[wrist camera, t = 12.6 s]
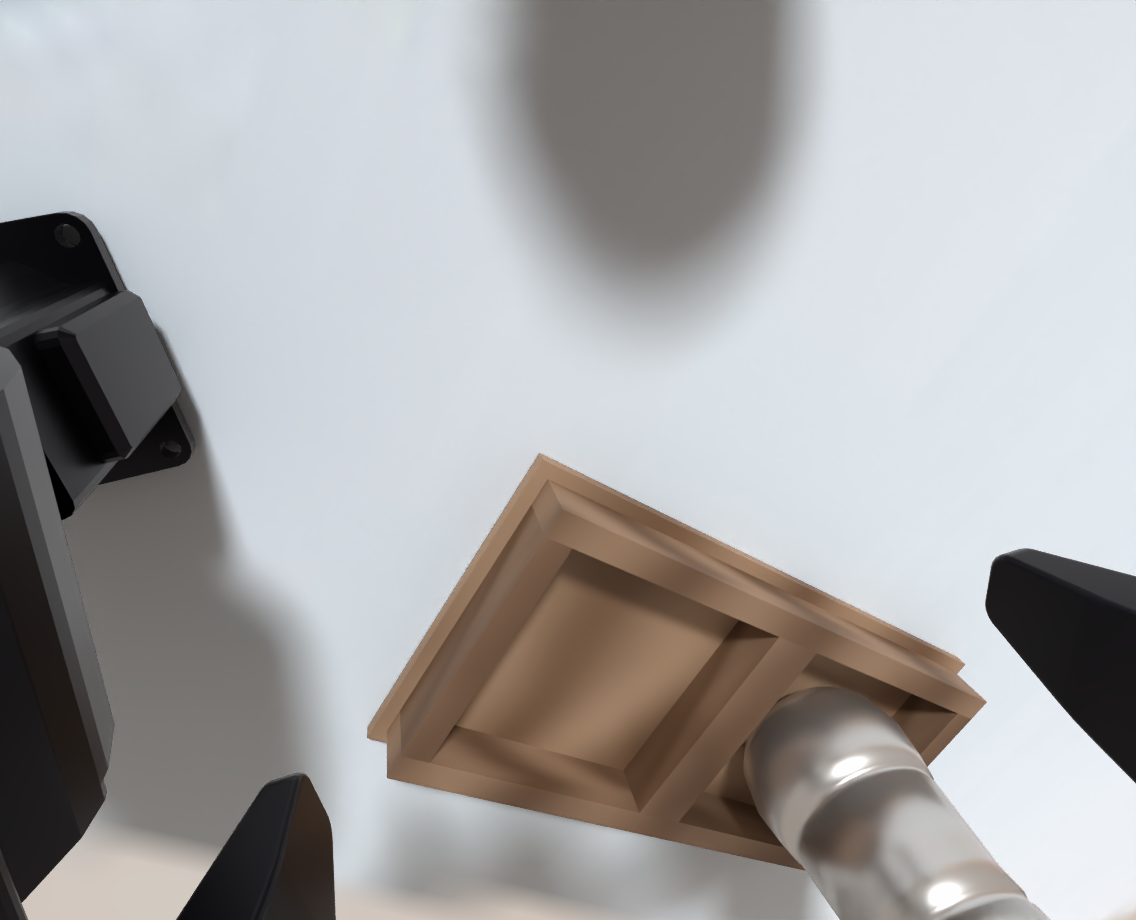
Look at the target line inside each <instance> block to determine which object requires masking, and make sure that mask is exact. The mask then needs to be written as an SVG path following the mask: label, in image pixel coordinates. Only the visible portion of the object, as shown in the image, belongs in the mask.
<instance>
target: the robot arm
mask: <svg viewBox="0 0 1136 920" xmlns="http://www.w3.org/2000/svg"><path fill="white" fill-rule="evenodd" d="M65 224H68V225H70V226H72V227H74V228H76V230H77V231H78V232H79V234H80V238H81V240H80V242H79V245H73V244H71V243H69V242H67V241H66V240H65V238H64V237H63V235H62V228H63V226H64V225H65ZM181 390H182V389H181V385H180V383H179V381H178V379H177V376H176V374H175V372H174V370H173V368H172V365H171V363H170V361H169V359H168V357H167V354H166V352H165V350H164V348H163V346H162V343H161V341H160V339H159V337H158V335H157V332H156V330H155V328H154V326H153V323H152V321H151V319H150V317H149V315H148V312H147V310H146V308H145V306H144V304H143V301H142V299H141V298H140V297H139V296H137V295H136V294H134V293H132V292H130V291H128V290H125V288H124V286H123V284H122V282H121V280H120V278H119V275H118V273H117V271H116V269H115V267H114V265H113V262H112V260H111V258H110V256H109V254H108V252H107V249H106V247H105V245H104V243H103V241H102V239H101V236H100V234H99V232H98V230H97V228H96V227H95V226H94V224H93V223H92V221H90V220H89V219H88V218H86V217H85V216H84V215H82V214H79V213H76V212H67V211H64V212H58V213H52V214H47V215H41V216H36V217H30V218H25V219H19V220H13V221H8V222H2V223H0V920H28V918H27V916H26V913H25V911H24V908H23V906H22V902H23V901H24V900H25V899H26V898H27V897H28V895H29V894H30V893H31V892H32V891H33V890H34V889H35V888H36V887H37V886H38V885H39V884H40V882H41V881H42V880H43V879H44V878H45V877H46V876H47V875H48V874H49V873H50V872H51V871H52V869H53V868H54V867H55V866H56V865H57V864H58V863H59V862H60V861H61V860H62V859H63V857H64V856H65V855H66V854H67V853H68V852H69V851H70V850H71V849H72V848H73V847H74V845H75V844H76V843H77V842H78V841H79V840H80V839H81V838H82V836H83V835H84V833H85V831H86V830H87V828H88V827H89V825H90V823H91V822H92V820H93V818H94V817H95V815H96V814H97V812H98V810H99V809H100V807H101V805H102V804H103V802H104V801H105V797H106V792H107V791H106V787H105V784H104V780H103V779H104V777H105V774H106V772H107V770H108V766H109V759H110V752H111V745H112V739H113V732H114V721H113V717H112V713H111V709H110V706H109V702H108V698H107V694H106V690H105V686H104V683H103V679H102V675H101V671H100V667H99V663H98V660H97V656H96V652H95V648H94V644H93V640H92V637H91V633H90V629H89V625H88V621H87V617H86V614H85V610H84V606H83V602H82V598H81V594H80V591H79V587H78V583H77V579H76V575H75V571H74V567H73V564H72V560H71V556H70V552H69V548H68V544H67V541H66V537H65V533H64V529H63V525H62V521H61V520H63V519H66V518H68V517H70V516H71V515H72V514H73V513H74V512H75V511H76V510H77V509H78V507H79V506H80V505H81V504H82V503H83V502H84V500H85V499H86V498H87V497H88V496H89V494H90V493H91V492H92V491H93V490H94V489H95V487H96V486H97V485H100V484H104V483H108V482H113V481H117V480H121V479H125V478H129V477H134V476H138V475H142V474H146V473H150V472H155V471H159V470H163V469H167V468H171V467H176V466H179V465H182V464H184V463H186V462H187V460H188V459H189V458H190V457H191V455H192V454H193V452H194V449H195V441H194V438H193V436H192V434H191V431H190V429H189V427H188V425H187V423H186V421H185V418H184V416H183V414H182V412H181V410H180V408H179V405H178V403H177V401H176V399H177V397H178V396H179V394H180V392H181ZM165 441H174V442H176V443H178V444H179V445H180V447H181V451H180V452H172V451H170V450H168V449H167V448H166V447H165V445H164V442H165ZM985 606H986V611H987V614H988V616H989V618H990V620H991V621H992V623H993V624H994V625H995V627H996V628H997V629H998V630H999V631H1000V633H1001V634H1002V635H1003V636H1004V637H1005V639H1006V640H1007V641H1008V642H1009V643H1010V645H1011V646H1012V647H1013V648H1014V649H1015V651H1016V652H1017V653H1018V654H1019V655H1020V657H1021V658H1022V659H1023V660H1024V661H1025V663H1026V664H1027V665H1028V666H1029V667H1030V669H1031V670H1032V671H1033V672H1034V674H1035V675H1036V676H1037V677H1038V678H1039V680H1040V681H1041V682H1042V683H1043V684H1044V686H1045V687H1046V688H1047V689H1048V690H1049V692H1050V693H1051V694H1052V695H1053V696H1054V698H1055V699H1056V700H1057V701H1058V702H1059V704H1060V705H1061V706H1062V707H1063V708H1064V709H1065V710H1066V712H1067V713H1068V714H1069V715H1070V716H1071V717H1072V718H1073V720H1074V721H1075V722H1076V723H1077V724H1078V725H1079V726H1080V727H1081V728H1082V729H1083V730H1084V731H1085V732H1086V733H1087V734H1088V735H1089V736H1090V737H1091V738H1092V740H1093V741H1094V742H1095V743H1096V744H1097V745H1098V746H1099V747H1100V748H1101V749H1102V750H1103V751H1104V752H1105V753H1106V754H1107V755H1108V756H1109V757H1110V758H1111V759H1112V760H1113V761H1114V762H1115V763H1116V764H1117V765H1118V766H1119V767H1120V768H1121V769H1122V770H1123V771H1124V772H1125V773H1126V774H1127V775H1128V776H1129V777H1130V778H1131V779H1132V780H1133V781H1134V782H1135V783H1136V576H1132V575H1128V574H1125V573H1121V572H1117V571H1113V570H1109V569H1106V568H1102V567H1098V566H1094V565H1090V564H1087V563H1083V562H1079V561H1075V560H1072V559H1068V558H1064V557H1060V556H1056V555H1053V554H1049V553H1045V552H1041V551H1037V550H1034V549H1027V548H1024V549H1018V550H1015V551H1012V552H1009V553H1005V554H1002V555H999V556H998V557H996V558H995V559H994V561H993V562H992V566H991V571H990V577H989V583H988V589H987V595H986V601H985ZM176 920H336V916H335V890H334V864H333V839H332V829H331V824H330V821H329V817H328V815H327V813H326V811H325V809H324V807H323V805H322V803H321V801H320V799H319V797H318V795H317V793H316V791H315V789H314V787H313V785H312V783H311V781H310V779H309V778H308V776H307V775H305V774H304V773H295V774H292V775H289V776H285V777H282V778H279V779H276V780H273V781H270V782H268V783H267V784H266V785H265V786H264V787H263V788H262V789H261V790H260V792H259V793H258V795H257V796H256V798H255V800H254V801H253V803H252V804H251V806H250V807H249V809H248V810H247V812H246V813H245V815H244V816H243V818H242V819H241V821H240V823H239V824H238V826H237V827H236V829H235V830H234V832H233V833H232V835H231V836H230V838H229V839H228V841H227V842H226V844H225V846H224V847H223V849H222V850H221V852H220V853H219V855H218V856H217V858H216V859H215V861H214V862H213V864H212V865H211V867H210V869H209V870H208V872H207V873H206V875H205V876H204V878H203V879H202V881H201V882H200V884H199V886H198V887H197V888H196V890H195V892H194V893H193V895H192V896H191V898H190V899H189V901H188V902H187V904H186V906H185V907H184V908H183V910H182V912H181V913H180V915H179V916H178V918H177V919H176Z"/></svg>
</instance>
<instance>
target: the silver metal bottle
mask: <svg viewBox="0 0 1136 920" xmlns="http://www.w3.org/2000/svg"><path fill="white" fill-rule="evenodd" d="M743 770H744V776H745V779H746V782H747V784H748V787H749V790H750V792H751V795H752V798H753V800H754V803H755V805H756V808H757V811H758V813H759V815H760V816H761V817H762V819H763V820H764V821H765V823H766V824H767V825H768V826H769V828H770V829H771V830H772V832H773V833H774V834H775V836H776V837H777V838H778V840H779V841H780V842H781V843H782V845H783V846H784V847H785V848H786V849H787V850H788V851H789V853H790V854H791V855H792V856H793V857H794V858H795V859H796V860H797V862H798V863H799V864H801V865H802V866H803V868H804V869H805V870H806V872H807V873H808V875H809V876H810V878H811V879H812V880H813V882H814V883H815V885H816V886H817V888H818V889H819V890H820V892H821V893H822V895H823V896H824V898H825V899H826V900H827V902H828V903H829V905H830V906H831V908H832V909H833V910H834V912H835V913H836V915H837V916H838V918H839V919H840V920H1050V919H1049V918H1048V917H1047V915H1046V914H1045V913H1044V912H1043V911H1042V910H1041V909H1040V908H1039V907H1037V906H1036V905H1035V904H1033V903H1031V902H1030V901H1029V900H1028V899H1027V896H1026V894H1025V892H1024V891H1023V890H1022V889H1021V888H1020V887H1019V886H1018V885H1017V884H1016V883H1015V882H1014V880H1013V879H1012V878H1011V877H1010V876H1009V875H1008V874H1007V873H1006V872H1005V871H1004V870H1003V869H1002V868H1001V867H1000V866H999V865H998V863H997V862H996V861H995V859H994V858H993V857H992V856H991V854H990V853H989V852H988V850H987V849H986V848H985V846H984V845H983V844H982V842H981V841H980V840H979V839H978V837H977V836H976V835H975V833H974V832H973V831H972V829H971V828H970V827H969V825H968V824H967V823H966V821H965V820H964V819H963V818H962V816H961V815H960V814H959V812H958V811H957V810H956V808H955V807H954V806H953V804H952V803H951V802H950V801H949V799H948V798H947V797H946V795H945V794H944V793H943V791H942V790H941V789H940V787H939V786H938V785H937V784H936V782H935V781H934V779H933V777H932V775H931V773H930V771H929V769H928V768H927V766H926V764H925V763H924V761H923V759H922V758H921V756H920V754H919V753H918V751H917V750H916V748H915V747H914V746H913V744H912V743H911V741H910V740H909V738H908V737H907V736H906V734H905V733H904V731H903V730H902V729H901V727H900V726H899V724H898V723H896V722H895V721H894V720H893V719H892V718H891V717H890V716H888V715H887V714H886V713H885V712H883V711H882V710H881V709H880V708H878V707H877V706H876V705H875V704H873V703H872V702H871V701H870V700H868V699H867V698H866V697H864V696H862V695H860V694H858V693H855V692H851V691H848V690H844V689H840V688H835V687H830V686H819V687H813V688H808V689H805V690H801V691H798V692H796V693H794V694H791V695H789V696H787V697H785V698H784V699H782V700H780V701H779V702H777V703H776V704H775V705H774V706H773V707H772V709H771V710H770V711H769V712H768V713H767V715H766V716H765V717H764V718H763V720H762V721H761V722H760V723H759V724H758V726H757V727H756V728H755V729H754V731H753V732H752V733H751V734H750V735H749V737H748V738H747V740H746V745H745V751H744V761H743Z"/></svg>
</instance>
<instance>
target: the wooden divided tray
mask: <svg viewBox="0 0 1136 920" xmlns="http://www.w3.org/2000/svg"><path fill="white" fill-rule="evenodd" d="M964 665H965V664H964V663H963V662H962V661H961V660H960V659H959V658H957V657H956V656H954V655H952V654H950V653H948V652H946V651H943V650H941V649H939V648H937V647H935V646H933V645H931V644H929V643H927V642H925V641H923V640H921V639H919V638H917V637H915V636H913V635H911V634H909V633H907V632H905V631H903V630H900V629H898V628H896V627H894V626H892V625H890V624H888V623H886V622H884V621H882V620H880V619H878V618H876V617H874V616H872V615H870V614H868V613H866V612H864V611H862V610H860V609H857V608H855V607H853V606H851V605H849V604H847V603H845V602H843V601H841V600H839V599H837V598H835V597H833V596H831V595H829V594H827V593H825V592H823V591H821V590H819V589H817V588H815V587H812V586H810V585H808V584H806V583H804V582H802V581H800V580H798V579H796V578H794V577H792V576H790V575H788V574H786V573H784V572H782V571H780V570H778V569H776V568H774V567H772V566H769V565H767V564H765V563H763V562H761V561H759V560H757V559H755V558H753V557H751V556H749V555H747V554H745V553H743V552H741V551H739V550H737V549H735V548H733V547H731V546H729V545H726V544H724V543H722V542H720V541H718V540H716V539H714V538H712V537H710V536H708V535H706V534H704V533H702V532H700V531H698V530H696V529H694V528H692V527H690V526H688V525H686V524H684V523H681V522H679V521H677V520H675V519H673V518H671V517H669V516H667V515H665V514H663V513H661V512H659V511H657V510H655V509H653V508H651V507H649V506H647V505H645V504H643V503H641V502H638V501H636V500H634V499H632V498H630V497H628V496H626V495H624V494H622V493H620V492H618V491H616V490H614V489H612V488H610V487H608V486H606V485H604V484H602V483H600V482H598V481H595V480H593V479H591V478H589V477H587V476H585V475H583V474H581V473H579V472H577V471H575V470H573V469H571V468H569V467H567V466H565V465H563V464H561V463H559V462H557V461H555V460H553V459H550V458H548V457H546V456H544V455H542V454H540V453H539V455H538V456H537V458H536V459H535V461H534V463H533V464H532V466H531V467H530V469H529V470H528V472H527V474H526V475H525V477H524V478H523V480H522V482H521V483H520V485H519V486H518V488H517V490H516V491H515V493H514V494H513V496H512V498H511V499H510V501H509V502H508V504H507V506H506V507H505V509H504V510H503V512H502V514H501V515H500V517H499V518H498V520H497V522H496V523H495V525H494V526H493V528H492V529H491V531H490V533H489V534H488V536H487V537H486V539H485V541H484V542H483V544H482V545H481V547H480V549H479V550H478V552H477V553H476V555H475V557H474V558H473V560H472V561H471V563H470V565H469V566H468V568H467V569H466V571H465V573H464V574H463V576H462V577H461V579H460V581H459V582H458V584H457V585H456V587H455V588H454V590H453V592H452V593H451V595H450V596H449V598H448V600H447V601H446V603H445V604H444V606H443V608H442V609H441V611H440V612H439V614H438V616H437V617H436V619H435V620H434V622H433V624H432V625H431V627H430V628H429V630H428V632H427V633H426V635H425V636H424V638H423V639H422V641H421V643H420V644H419V646H418V647H417V649H416V651H415V652H414V654H413V655H412V657H411V659H410V660H409V662H408V663H407V665H406V667H405V668H404V670H403V671H402V673H401V675H400V676H399V678H398V679H397V681H396V683H395V684H394V686H393V687H392V689H391V691H390V692H389V694H388V695H387V697H386V698H385V700H384V702H383V703H382V705H381V706H380V708H379V710H378V711H377V713H376V714H375V716H374V718H373V719H372V721H371V722H370V724H369V726H368V728H367V738H369V739H373V740H378V741H382V742H386V743H387V778H389V779H394V780H398V781H403V782H407V783H412V784H416V785H421V786H425V787H430V788H434V789H439V790H443V791H448V792H452V793H457V794H461V795H466V796H471V797H475V798H480V799H484V800H489V801H493V802H498V803H502V804H507V805H511V806H516V807H520V808H525V809H529V810H534V811H538V812H543V813H547V814H552V815H557V816H561V817H566V818H570V819H575V820H579V821H584V822H588V823H593V824H597V825H602V826H606V827H611V828H615V829H620V830H624V831H629V832H633V833H638V834H643V835H647V836H652V837H656V838H661V839H665V840H670V841H674V842H679V843H683V844H688V845H692V846H697V847H701V848H706V849H710V850H715V851H720V852H724V853H729V854H733V855H738V856H742V857H747V858H751V859H756V860H760V861H765V862H769V863H774V864H778V865H783V866H787V867H792V868H796V869H801V870H805V869H804V868H803V866H802V865H801V864H799V863H798V862H797V860H796V859H795V858H794V857H793V856H792V855H791V854H790V853H789V851H788V850H787V849H786V848H785V847H784V846H783V845H782V843H781V842H780V841H779V840H778V838H777V837H776V836H775V834H774V833H773V832H772V830H771V829H770V828H769V826H768V825H767V824H766V823H765V821H764V820H763V819H762V817H761V816H760V815H759V813H758V811H757V808H756V805H755V803H754V800H753V798H752V795H751V792H750V790H749V787H748V784H747V782H746V779H745V776H744V770H743V761H744V751H745V745H746V740H747V738H748V737H749V735H750V734H751V733H752V732H753V731H754V729H755V728H756V727H757V726H758V724H759V723H760V722H761V721H762V720H763V718H764V717H765V716H766V715H767V713H768V712H769V711H770V710H771V709H772V707H773V706H774V705H775V704H776V703H777V702H779V701H780V700H782V699H784V698H785V697H787V696H789V695H791V694H794V693H796V692H798V691H801V690H805V689H808V688H813V687H819V686H830V687H835V688H840V689H844V690H848V691H851V692H855V693H858V694H860V695H862V696H864V697H866V698H867V699H868V700H870V701H871V702H872V703H873V704H875V705H876V706H877V707H878V708H880V709H881V710H882V711H883V712H885V713H886V714H887V715H888V716H890V717H891V718H892V719H893V720H894V721H895V722H896V723H898V724H899V726H900V727H901V729H902V730H903V731H904V733H905V734H906V736H907V737H908V738H909V740H910V741H911V743H912V744H913V746H914V747H915V748H916V750H917V751H918V753H919V754H920V756H921V758H922V759H923V761H924V763H925V764H926V766H927V767H928V765H929V764H930V763H931V762H932V761H933V760H934V759H935V758H936V757H937V756H938V755H939V754H940V752H941V751H942V750H943V749H944V748H945V747H946V746H947V745H948V744H949V743H950V742H951V741H952V739H953V738H954V737H955V736H956V735H957V734H958V733H959V732H960V731H961V730H962V729H963V728H964V726H965V725H966V724H967V723H968V722H969V721H970V720H971V719H972V718H973V717H974V716H975V714H976V713H977V712H978V711H979V710H980V709H981V708H982V707H983V706H984V705H985V704H986V703H987V702H986V701H985V700H984V699H983V698H982V697H981V696H980V695H979V694H978V693H976V692H975V691H974V690H973V689H972V688H971V687H970V686H969V685H968V684H967V683H966V682H964V681H963V680H962V679H961V678H960V677H959V676H958V675H957V673H958V672H959V671H960V670H961V669H962V668H963V667H964Z"/></svg>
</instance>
